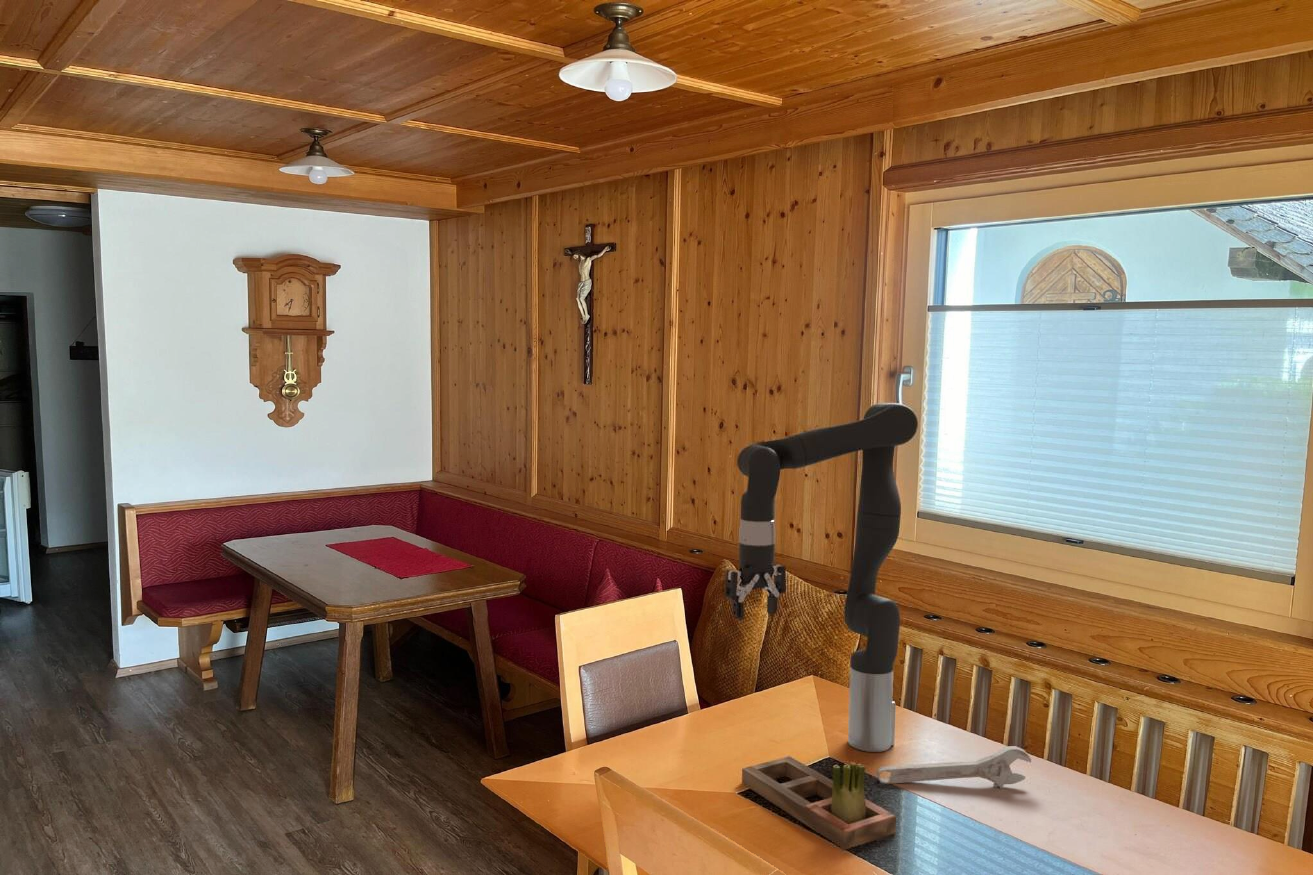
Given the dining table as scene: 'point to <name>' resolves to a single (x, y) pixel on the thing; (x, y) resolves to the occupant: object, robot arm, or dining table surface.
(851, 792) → the fennel bulb
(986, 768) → the wrench
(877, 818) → the brown flat frame piece
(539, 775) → the dining table surface
